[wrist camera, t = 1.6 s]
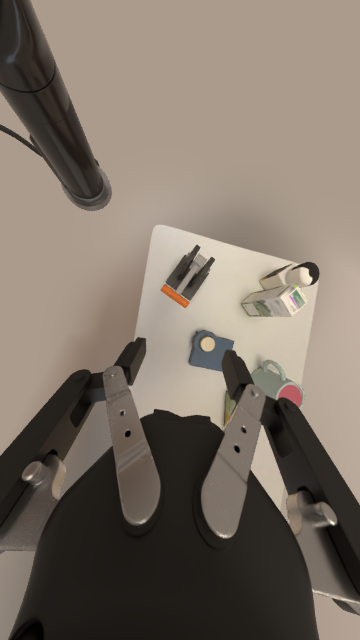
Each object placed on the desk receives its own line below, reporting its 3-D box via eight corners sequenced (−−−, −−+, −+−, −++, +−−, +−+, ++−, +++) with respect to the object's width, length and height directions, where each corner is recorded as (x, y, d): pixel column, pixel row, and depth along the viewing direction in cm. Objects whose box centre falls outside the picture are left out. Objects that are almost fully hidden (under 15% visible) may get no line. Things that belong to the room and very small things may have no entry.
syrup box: (261, 306, 44) (310, 300, 30) (249, 317, 43) (293, 316, 29) (251, 292, 43) (297, 280, 29) (239, 303, 43) (280, 296, 28)
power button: (197, 348, 37) (199, 349, 35) (201, 334, 37) (203, 335, 35) (210, 351, 37) (213, 352, 36) (213, 337, 38) (216, 338, 36)
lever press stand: (189, 300, 40) (204, 292, 27) (165, 282, 39) (169, 265, 26) (207, 274, 41) (229, 255, 28) (184, 256, 39) (196, 227, 27)
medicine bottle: (274, 270, 45) (316, 253, 33) (283, 288, 45) (328, 278, 34) (259, 280, 44) (296, 266, 32) (268, 298, 44) (308, 292, 33)
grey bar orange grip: (183, 310, 25) (188, 305, 22) (159, 293, 24) (162, 285, 22) (206, 271, 31) (212, 264, 29) (188, 256, 30) (193, 248, 28)
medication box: (225, 390, 42) (231, 397, 38) (233, 390, 43) (240, 397, 39) (223, 427, 42) (229, 438, 38) (231, 427, 42) (238, 438, 38)
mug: (274, 390, 45) (306, 411, 36) (250, 397, 44) (277, 420, 34) (269, 352, 45) (301, 362, 35) (245, 357, 43) (271, 369, 34)
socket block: (185, 361, 40) (188, 366, 36) (194, 327, 40) (198, 328, 36) (223, 369, 42) (229, 375, 38) (231, 337, 42) (238, 339, 38)
